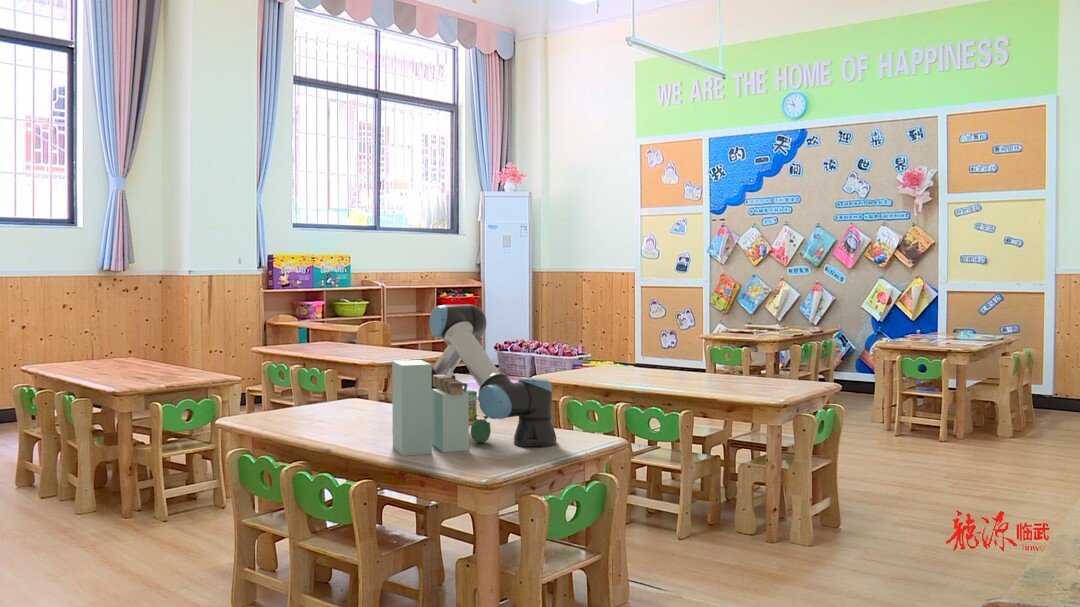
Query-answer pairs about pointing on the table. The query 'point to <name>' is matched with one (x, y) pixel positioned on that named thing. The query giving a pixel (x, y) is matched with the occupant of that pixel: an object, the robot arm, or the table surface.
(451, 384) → the walnut rod
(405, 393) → the step shelf
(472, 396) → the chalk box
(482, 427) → the alien toy
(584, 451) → the table surface
